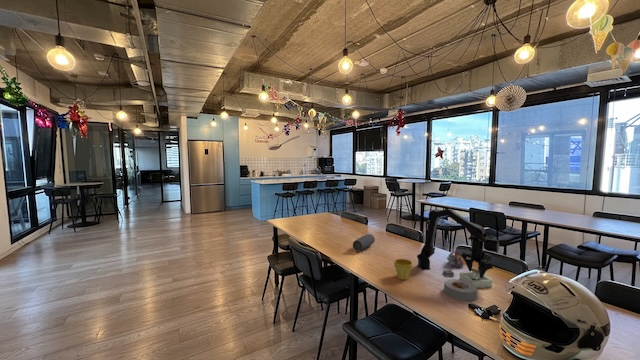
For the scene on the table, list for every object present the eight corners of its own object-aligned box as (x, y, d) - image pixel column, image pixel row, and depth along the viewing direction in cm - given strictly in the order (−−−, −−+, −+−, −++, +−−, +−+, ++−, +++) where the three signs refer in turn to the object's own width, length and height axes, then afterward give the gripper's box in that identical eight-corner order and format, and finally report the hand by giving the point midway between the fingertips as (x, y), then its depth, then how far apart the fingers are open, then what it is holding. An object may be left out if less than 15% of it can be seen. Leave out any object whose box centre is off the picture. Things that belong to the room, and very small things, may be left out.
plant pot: (390, 275, 164) (390, 259, 163) (403, 272, 168) (404, 257, 167) (401, 282, 154) (402, 266, 154) (415, 279, 159) (416, 263, 158)
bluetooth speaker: (364, 244, 225) (365, 232, 224) (375, 246, 219) (375, 234, 218) (351, 251, 206) (352, 238, 205) (362, 254, 201) (362, 241, 200)
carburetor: (468, 266, 173) (457, 250, 175) (453, 274, 176) (442, 259, 178) (465, 260, 184) (454, 245, 185) (451, 267, 187) (440, 253, 189)
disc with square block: (446, 277, 162) (446, 274, 162) (440, 272, 168) (440, 269, 168) (456, 276, 163) (456, 273, 163) (450, 272, 169) (450, 269, 169)
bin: (472, 288, 148) (473, 281, 148) (459, 278, 160) (459, 272, 160) (491, 287, 150) (492, 280, 149) (477, 278, 161) (477, 271, 161)
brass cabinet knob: (482, 283, 153) (483, 271, 152) (474, 284, 152) (474, 271, 151) (476, 279, 157) (477, 268, 157) (468, 280, 157) (469, 268, 156)
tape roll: (439, 294, 142) (439, 284, 142) (450, 284, 153) (450, 276, 152) (471, 305, 131) (471, 295, 131) (480, 294, 142) (480, 285, 141)
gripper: (502, 253, 145) (501, 281, 146) (478, 242, 163) (477, 267, 165) (483, 254, 144) (482, 282, 145) (461, 243, 162) (460, 268, 163)
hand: (475, 274), depth 154 cm, fingers open, 9 cm apart
